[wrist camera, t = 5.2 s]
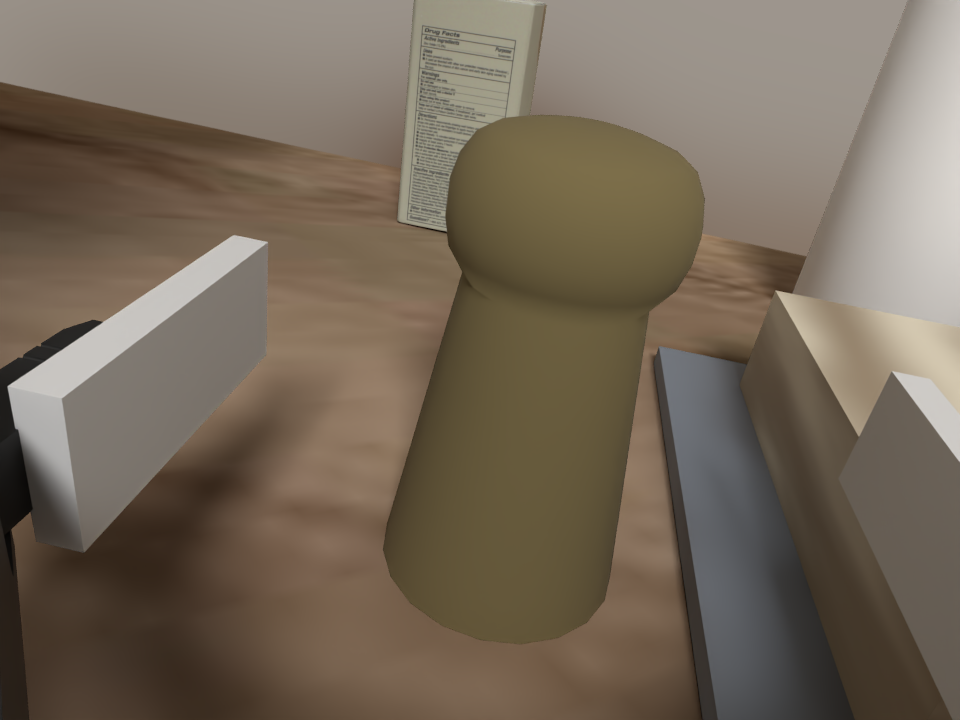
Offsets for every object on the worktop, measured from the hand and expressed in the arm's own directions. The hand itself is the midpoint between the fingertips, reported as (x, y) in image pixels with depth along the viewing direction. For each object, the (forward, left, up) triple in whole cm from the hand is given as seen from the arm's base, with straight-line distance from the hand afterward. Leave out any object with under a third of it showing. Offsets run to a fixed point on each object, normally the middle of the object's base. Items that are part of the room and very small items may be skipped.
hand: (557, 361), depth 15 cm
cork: (0, +1, -7) cm, 7 cm away
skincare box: (-6, +27, -7) cm, 28 cm away
